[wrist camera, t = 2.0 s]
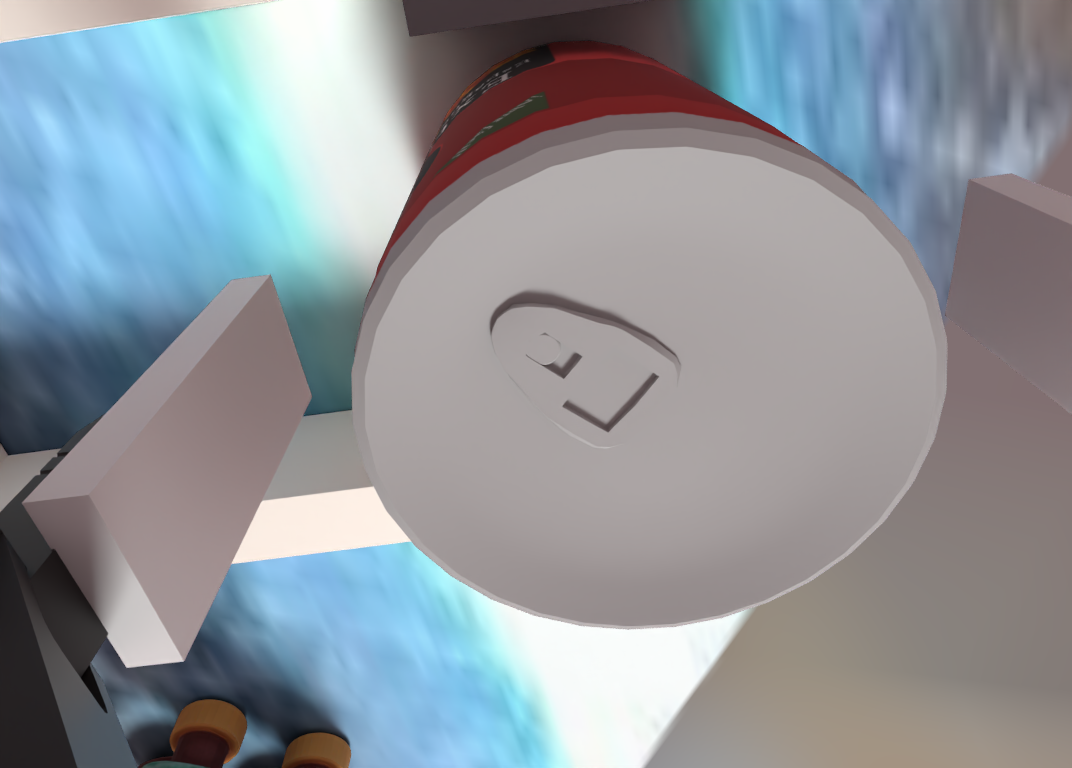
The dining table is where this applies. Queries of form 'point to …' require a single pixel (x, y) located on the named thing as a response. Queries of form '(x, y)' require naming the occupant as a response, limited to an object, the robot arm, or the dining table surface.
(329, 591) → the dining table surface
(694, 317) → the canned food
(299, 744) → the binoculars
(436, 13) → the white rectangular tray
